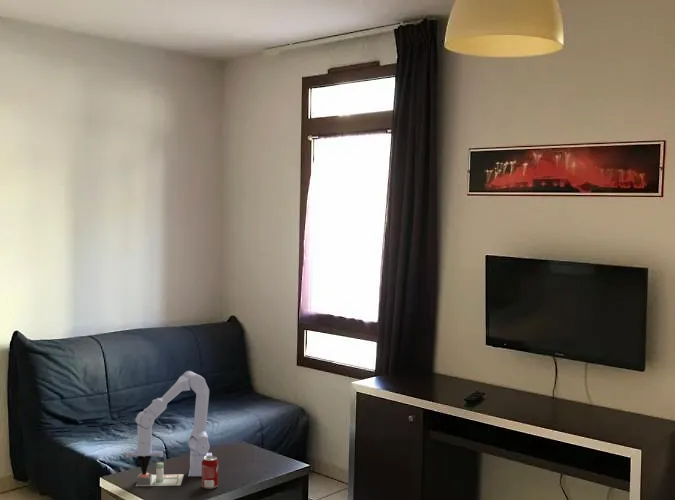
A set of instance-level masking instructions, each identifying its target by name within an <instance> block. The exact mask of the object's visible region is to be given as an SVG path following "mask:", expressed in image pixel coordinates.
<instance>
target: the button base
mask: <svg viewBox="0 0 675 500" xmlns="http://www.w3.org/2000/svg"><path fill="white" fill-rule="evenodd" d="M152 475H153V474H152V473H149V478H140V473H139V474H138V475H137V477H136V484H137V485H150V484H151V482H152Z"/></svg>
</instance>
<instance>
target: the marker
mask: <svg viewBox="0 0 675 500" xmlns="http://www.w3.org/2000/svg"><path fill="white" fill-rule="evenodd" d="M164 465H165V463H164V462H161V461H160V462H156V463H155V475H156V483H162V482H163V481H164V478H163V475H165V474H164V467H165V466H164Z"/></svg>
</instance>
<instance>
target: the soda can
mask: <svg viewBox="0 0 675 500" xmlns="http://www.w3.org/2000/svg"><path fill="white" fill-rule="evenodd" d="M218 486H219V460H218V457H217V456H215V455H212V456H206V457H204V458H203V461H202V476H201V487H202V488H204V489H206V490H212V489H215V488H216V487H217V488H218Z"/></svg>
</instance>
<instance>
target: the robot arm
mask: <svg viewBox="0 0 675 500" xmlns="http://www.w3.org/2000/svg"><path fill="white" fill-rule="evenodd" d="M191 390H192V391H193V392H194V393H195V394H196V395H195V396H196V397H195V405H194V406H195V408H194V418H193V429H192V430H191V432H190V437H189V438H188V441H187V446H188V448H189V449H190V451H189V472H188V474H187V477H202V461H203V458H204V457H206V456H213V453H212V452H209V451H210V447H211V446H210V443H209V436H208V433H207V423H208V410H209V399H210V388H209V387H208V384H207V382H206V379H205V378H204V377H203V376H202V375H200V374H198V373H195V372H193V371H192V370H187V371H185V372H184V373H183V374H182V375H180V376H179V377H178V379H177V380H176V382H175V383H174V384H173V385H171V387H170V388H169V389H168V390H167V391H166V392H165V393H164V394H163V395H162V396H161V397H157V398H156V399H152V401H151V403H150V405H148V406H147V407H146V408H144V409H143V411H140V412H139V413H138V414H137V415H136V417H135V420H134V421H135V423H136V424H137V442H136V443H137V445H136V446H137V447H136V448H137V450H130V451H126V452H125V457H126V458H137V459H136V460H137V463H138V465H139V466H140V470H141V473H142V475H146V473H147V472H148V466H149V465H150V461H151V459H152V457H153V458H155V457H156V458H157V457H158V458H163V456H164V455H163V454H164V452H163V450H154V449H152V448H153V447H152V446H153V445H152V443H153V442H152V441H153V439H152V437H153V429H152V428H153V427H152V426H154V424H155V420H156V419H157V418H158V417H159V416H160V415H161V414H163V412H164V411H165V410H166V409H167V406H168V403H170V402H171V401H172V400H174V399H175V398H176V397H177V396H178V395H179V394H181V392H187V391H191Z"/></svg>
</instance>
